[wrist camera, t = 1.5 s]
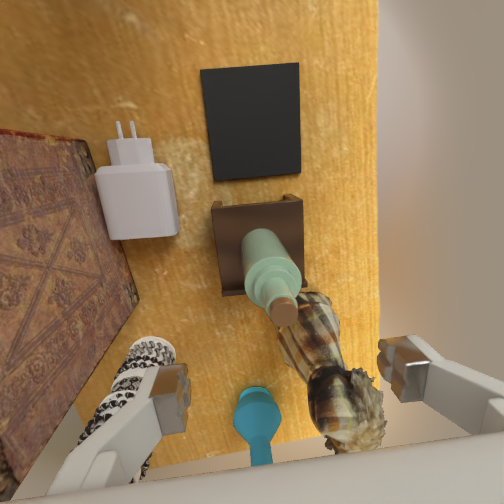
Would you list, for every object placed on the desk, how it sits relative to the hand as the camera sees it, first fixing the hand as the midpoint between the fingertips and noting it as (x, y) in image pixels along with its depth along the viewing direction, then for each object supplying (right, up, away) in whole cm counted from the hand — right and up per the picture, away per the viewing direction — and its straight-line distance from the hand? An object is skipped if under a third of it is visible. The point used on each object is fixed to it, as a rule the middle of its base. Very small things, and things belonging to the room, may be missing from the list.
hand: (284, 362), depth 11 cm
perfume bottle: (-1, -26, +43) cm, 50 cm away
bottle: (0, +5, +24) cm, 25 cm away
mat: (-1, +23, +26) cm, 34 cm away
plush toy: (+7, -6, +37) cm, 38 cm away
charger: (-17, +15, +27) cm, 36 cm away
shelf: (-1, +7, +31) cm, 32 cm away
